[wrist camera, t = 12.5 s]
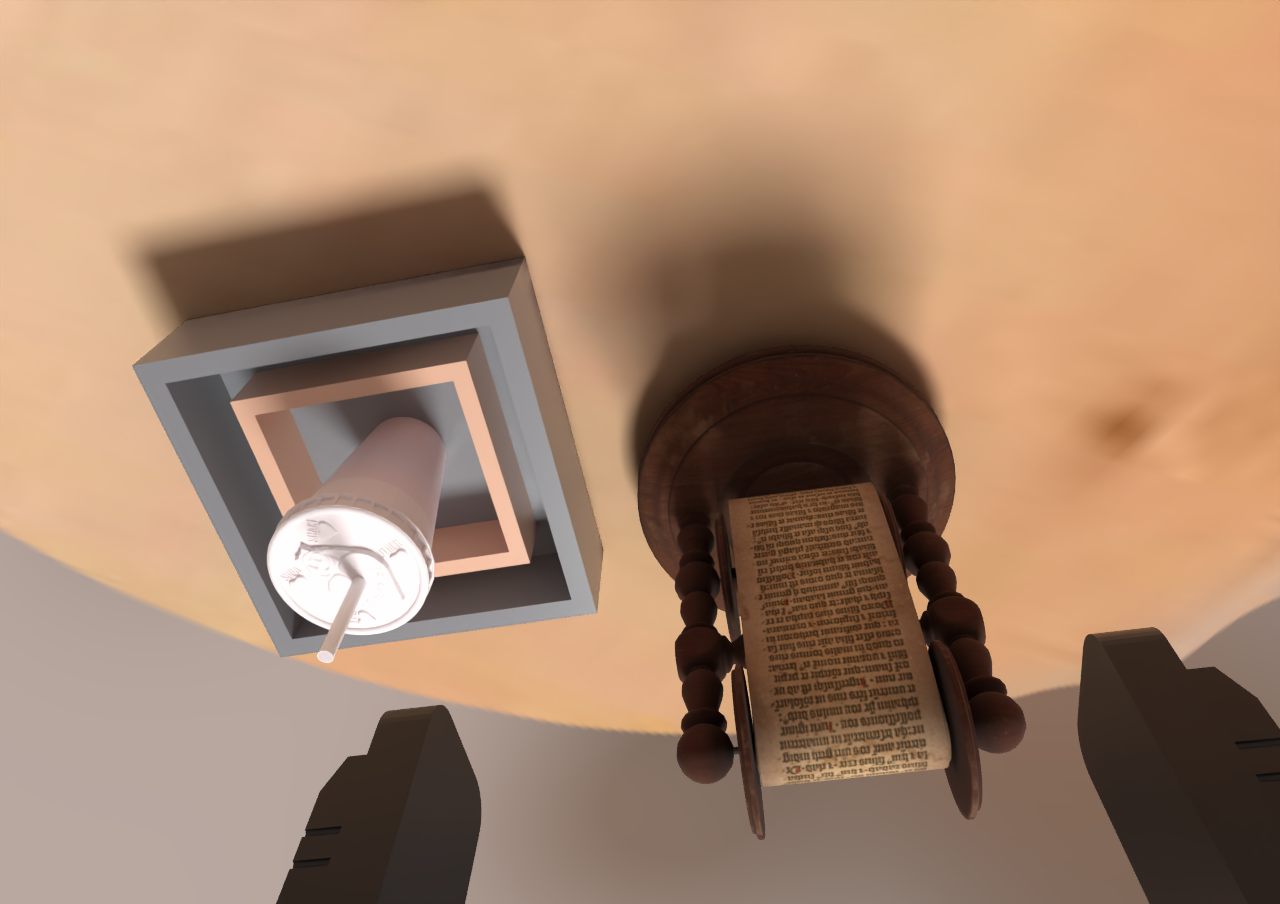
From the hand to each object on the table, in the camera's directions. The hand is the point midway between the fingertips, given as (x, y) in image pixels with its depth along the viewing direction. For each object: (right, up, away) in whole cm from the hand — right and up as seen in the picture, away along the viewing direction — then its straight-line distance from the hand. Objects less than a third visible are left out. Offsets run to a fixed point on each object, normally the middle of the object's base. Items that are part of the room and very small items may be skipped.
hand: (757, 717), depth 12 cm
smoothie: (-13, +4, +33) cm, 35 cm away
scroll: (+6, +3, +34) cm, 35 cm away
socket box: (-13, +4, +34) cm, 36 cm away
